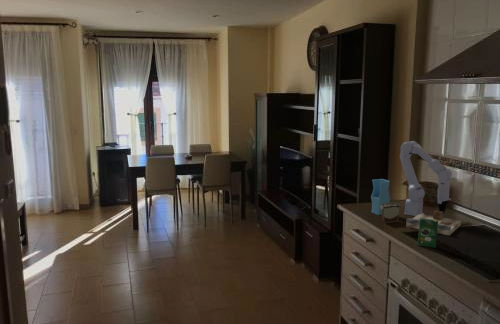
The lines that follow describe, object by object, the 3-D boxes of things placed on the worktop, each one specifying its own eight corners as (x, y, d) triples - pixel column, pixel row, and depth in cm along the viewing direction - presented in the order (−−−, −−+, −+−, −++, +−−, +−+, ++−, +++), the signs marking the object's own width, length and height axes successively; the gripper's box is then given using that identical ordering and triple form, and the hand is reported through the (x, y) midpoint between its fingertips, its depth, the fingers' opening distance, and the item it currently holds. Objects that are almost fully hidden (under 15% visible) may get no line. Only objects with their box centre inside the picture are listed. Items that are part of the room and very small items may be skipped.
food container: (392, 218, 243) (393, 201, 241) (399, 221, 237) (400, 204, 235) (374, 220, 238) (375, 203, 237) (381, 223, 233) (382, 206, 231)
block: (433, 218, 233) (433, 211, 233) (435, 217, 237) (435, 210, 236) (440, 220, 231) (441, 213, 230) (442, 218, 234) (443, 211, 233)
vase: (370, 211, 256) (371, 179, 253) (380, 210, 259) (382, 178, 256) (378, 215, 249) (380, 182, 246) (389, 213, 252) (391, 181, 249)
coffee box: (436, 246, 198) (438, 219, 196) (436, 248, 195) (438, 221, 193) (417, 244, 201) (419, 217, 199) (417, 246, 198) (419, 219, 196)
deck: (406, 226, 227) (406, 218, 226) (419, 217, 244) (420, 210, 243) (449, 235, 213) (450, 227, 212) (460, 225, 230) (461, 217, 229)
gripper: (447, 193, 229) (445, 217, 231) (454, 189, 240) (453, 212, 242) (434, 191, 233) (432, 215, 236) (441, 187, 244) (440, 209, 247)
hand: (442, 213), depth 239 cm, fingers closed
